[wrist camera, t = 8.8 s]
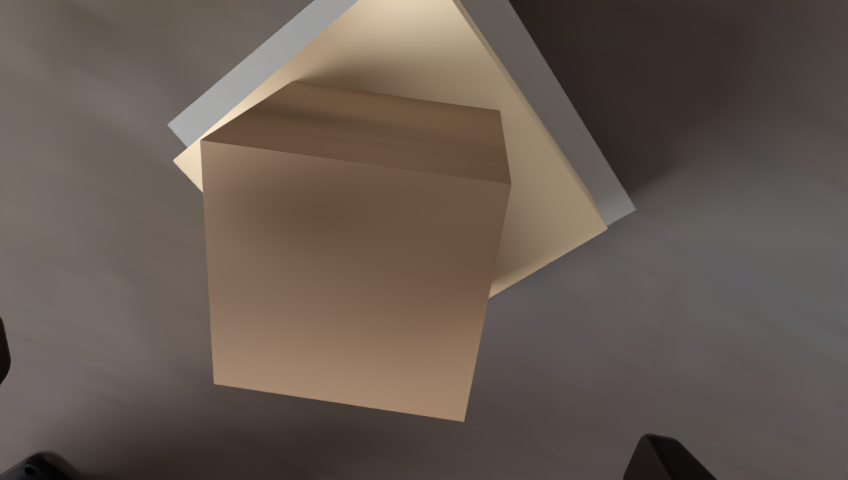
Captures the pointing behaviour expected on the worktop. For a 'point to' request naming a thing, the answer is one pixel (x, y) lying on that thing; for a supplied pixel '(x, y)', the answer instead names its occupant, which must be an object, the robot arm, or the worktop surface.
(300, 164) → the walnut cube
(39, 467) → the robot arm
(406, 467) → the worktop surface
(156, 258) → the worktop surface
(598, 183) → the grey base block
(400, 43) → the birch top block
